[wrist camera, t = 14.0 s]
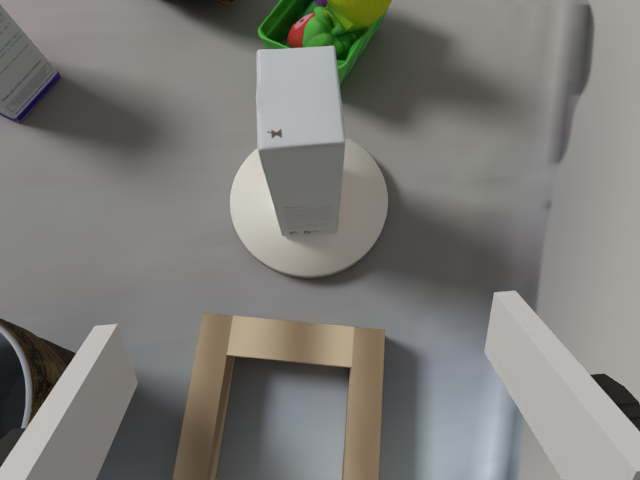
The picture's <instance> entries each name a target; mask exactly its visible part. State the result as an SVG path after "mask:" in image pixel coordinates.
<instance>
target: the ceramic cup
mask: <svg viewBox="0 0 640 480" xmlns="http://www.w3.org/2000/svg"><path fill="white" fill-rule="evenodd" d="M75 355H76V353H74V352H72V351H70V350H67V349H65V348H62V347H60V346H58V345H56V344H54V343H51V342H49V341H47V340H45V339H42V338H39V337H37V336H36V335H34V334H33V333H31V332H29V331H28V330H26V329H24V328H21V327H19V326H17V325H15V324H12V323H10V322H7V321H5V320H3V319H0V440H1V439H2V438H3V437H4V436H5V435H6V434H8V433H9V432H10V431H11V430H12V429H20V428H27V427H28V425H29V424H30V422H31V421H32V419H33V418H34V416H35V415H36V413H37V412H38V410H39V409H40V407H41V406H42V404H43V403H44V401H45V400H46V398H47V397H48V395H49V394H50V392H51V391H52V389H53V388H54V386H55V385H56V383H57V382H58V380H59V379H60V377H61V376H62V374H63V373H64V371H65V370H66V368H67V367H68V365H69V364H70V362H71V361H72V359H73V358H74V356H75Z"/></svg>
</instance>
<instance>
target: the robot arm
mask: <svg viewBox="0 0 640 480" xmlns="http://www.w3.org/2000/svg"><path fill="white" fill-rule="evenodd" d="M484 353H485V354H486V356H487V358H488V359H489V361H490V363H491V364H492V366H493V367H494V369H495V371H496V372H497V374H498V376H499V377H500V379H501V380H502V382H503V384H504V385H505V387H506V389H507V390H508V392H509V394H510V395H511V397H512V398H513V400H514V402H515V403H516V405H517V407H518V408H519V410H520V411H521V413H522V415H523V416H524V418H525V420H526V421H527V423H528V425H529V426H530V428H531V429H532V431H533V433H534V434H535V436H536V438H537V439H538V441H539V442H540V444H541V446H542V447H543V449H544V450H545V452H546V454H547V455H548V457H549V459H550V460H551V462H552V464H553V465H554V467H555V469H556V470H557V472H558V474H559V475H560V477H561V478H562V480H640V405H639V402H638V401H637V400H636V399H635V398H634V396H632V394H631V393H630V392H629V391H628V390H627V389H626V388H625V387H624V386H622V385H621V384H619V383H618V382H616V381H614V380H613V379H612V378H610V377H609V376H607V375H605V374H595V375H589V374H588V372H587V371H586V370H585V369H584V368H583V367H582V366H581V364H580V363H579V362H578V361H577V360H576V359H575V358H574V357H573V355H572V354H571V353H570V352H569V351H568V350H567V349H566V348H565V346H564V345H563V344H562V343H561V342H560V341H559V339H558V338H557V337H556V336H555V335H554V334H553V333H552V332H551V330H550V329H549V328H548V327H547V326H546V325H545V324H544V323H543V321H542V320H541V319H540V318H539V317H538V316H537V315H536V313H535V312H534V311H533V310H532V309H531V308H530V307H529V305H528V304H527V303H526V302H525V301H524V300H523V299H522V298H521V296H520V295H519V294H518V293H517V292H516V291H504V292H494V296H493V302H492V308H491V314H490V320H489V326H488V332H487V338H486V344H485V350H484ZM137 384H138V381H137V378H136V375H135V372H134V370H133V367H132V364H131V361H130V358H129V355H128V352H127V349H126V347H125V344H124V341H123V338H122V335H121V332H120V329H119V326H118V324H111V325H99V326H94V328H93V329H92V331H91V332H90V334H89V335H88V337H87V338H86V340H85V341H84V343H83V344H82V346H81V347H80V349H79V350H78V352H77V353H76V355H75V356H74V358H73V359H72V361H71V362H70V364H69V365H68V367H67V368H66V370H65V371H64V373H63V374H62V376H61V377H60V379H59V380H58V382H57V383H56V385H55V386H54V388H53V389H52V391H51V392H50V394H49V395H48V397H47V398H46V400H45V401H44V403H43V404H42V406H41V407H40V409H39V410H38V412H37V413H36V415H35V416H34V418H33V419H32V421H31V422H30V424H29V425H28V427H27V428H20V429H12V430H11V431H10V432H9V433H8V434H6V435H5V436H4V437H3V438H2V439H1V440H0V480H96V479H97V477H98V474H99V472H100V470H101V467H102V465H103V463H104V461H105V458H106V456H107V454H108V451H109V449H110V447H111V444H112V442H113V440H114V437H115V435H116V433H117V431H118V428H119V426H120V424H121V421H122V419H123V417H124V414H125V412H126V410H127V408H128V405H129V403H130V401H131V398H132V396H133V394H134V391H135V389H136V387H137Z"/></svg>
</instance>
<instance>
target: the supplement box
mask: <svg viewBox="0 0 640 480" xmlns="http://www.w3.org/2000/svg"><path fill="white" fill-rule="evenodd" d="M59 78H60V74H59V73H58V72H57V71H56V70H55V68H54V67H53V66H52V65H51V64H50V62H49V61H48V60H47V59H46V58H45V57H44V55H43V54H42V53H41V52H40V51H39V49H38V48H37V47H36V46H35V45H34V44H33V42H32V41H31V40H30V39H29V38H28V37H27V35H26V34H25V33H24V32H23V31H22V30H21V28H20V27H19V26H18V25H17V24H16V23H15V21H14V20H13V19H12V18H11V17H10V15H9V14H8V13H7V12H6V11H5V10H4V9H3V8H2V6H1V5H0V114H1V115H3V116H5V117H7V118H9V119H11V120H13V121H15V122H17V123H20V122H21V121H22V120H23V119H24V118H25V117H26V116H27V115H28V114H29V113H30V111H31V110H32V109H33V108H34V107H35V106H36V104H37V103H38V102H39V101H40V100H41V99H42V98H43V97H44V95H45V94H46V93H47V92H48V91H49V90H50V89H51V88H52V87H53V86H54V84H55V83H56V82H57V81H58V80H59Z"/></svg>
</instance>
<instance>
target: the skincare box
mask: <svg viewBox="0 0 640 480" xmlns="http://www.w3.org/2000/svg"><path fill="white" fill-rule="evenodd" d="M256 55H257V89H256V104H257V142H258V153H259V157H260V161H261V164H262V168H263V171H264V174H265V178H266V181H267V185H268V188H269V192H270V195H271V199H272V202H273V205H274V209H275V213H276V217H277V220H278V224H279V227H280V230H281V234H282V236H296V235H311V234H327V233H337V232H338V224H339V211H340V201H341V189H342V177H343V166H344V153H345V130H344V117H343V107H342V101H341V93H340V85H339V76H338V68H337V59H336V49H335V46H320V47H305V48H288V49H260V50H258V51H257V54H256Z"/></svg>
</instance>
